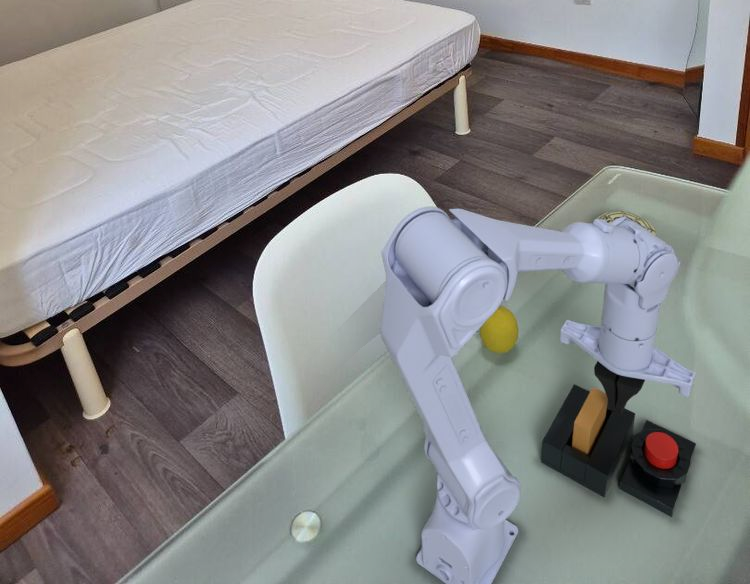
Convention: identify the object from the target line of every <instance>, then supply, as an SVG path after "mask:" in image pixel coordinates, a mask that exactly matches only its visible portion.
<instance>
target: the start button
mask: <svg viewBox="0 0 750 584" xmlns="http://www.w3.org/2000/svg"><path fill="white" fill-rule="evenodd" d="M644 453H645V456H646V458H647V460H648V461H649V462H650V463H651V464H652V465H654V466H655V467H657V468H661V469H669V468H672V467H673V466H674V465H675V464H676V461H677V456H678V446H677V444H676V442H675V441H674V439H672V438H671V437H670V436H669V435H667V434H665V433H661V432H653V433H651V434H649V435H648V436H647V438H646V442H645V448H644Z"/></svg>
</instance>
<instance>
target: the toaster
mask: <svg viewBox="0 0 750 584" xmlns="http://www.w3.org/2000/svg"><path fill="white" fill-rule="evenodd" d="M590 391H591V390H590ZM590 391H589V390H588V389H585V388H583V387H582V386H579V385H577V384H575V383H573V385H572V387H571V388H570V390H569V392H568V394H567V396H566V397H565V399H564V401H563V403H562V404H561V407H560V409H559V410H558V412H557V414H556V415H555V418H554V419H553V421H552V423H551V425H550V426H549V428H548V430H547V432H546V433H545V435H544V437H543V439H542V440H541V453H540V454H541V455H540V463H541V464H543V465H545V466H547V467H548V468H550V469H552V470H554V471H555V472H558V473H559V474H560V475H562V476H564V477H567V478H568V479H570V480H572V481H574V482H575V483H577V484H579V485H581V486H582V487H584V488H586V489H588V490H589V491H592V492H593V493H595V494H597V495H599V496H601V497H602V498H606V496H607V494H608V491H609V489H610V486H611V485H612V482H613V480H614V478H615V475H616V473H617V470H618V469H619V466H620V464H621V461H622V459H623V457H624V454H625V452H626V451H627V448H628V446H629V443H630V441H631V438H632V436H633V432H634V427H635V426H634V425H635V420H636V419H635V418H636V413H635V412H634V411H632V410H630V409H627V408H626V407H625V408H624V410H623V412H622V415H620V414H617V413H615V412H613V411H611V410H610V408H609V403H608V401H607V410H606V418H605V426H604V429H603V431H602V433H601V436H600V438H599V440H598V442H597V444H596V446H595V448H594V450H593V452H592V454H591V456H590V457H589V456H587V455H585V454H584V453H582V452H580V451H578V450H576V449H574V448H572V440H573V430H574V422H575V420H576V418H577V416H578V414H579V412H580V410H581V408H582V406H583V405H584V403H585V401H586V399H587V397H588V395H589V393H590Z"/></svg>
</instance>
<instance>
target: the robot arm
mask: <svg viewBox="0 0 750 584" xmlns="http://www.w3.org/2000/svg"><path fill="white" fill-rule="evenodd" d="M448 211H449V212H450V213H451V214H452V216H453V219H452V218H450V216H449V215H448V214H447V213H446V212H445V210H443V209H441V208H439V207H437V206H423V207H420V208H417V209H415V210H413V211H411V212H410V213H408V214H407V215H405V217H404V218H403V219H401V221H400V222H399V223H398V224H397V226H396V227H395V229H394V230H393V232H392V233H391V235H390V237H389V239H388V240H387V242H386V243H385V246H383V249H382V251H381V258H382V263H383V267H384V272H385V288H384V296H383V304H382V313H381V319H380V320H381V322H380V330H379V331H380V332H379V333H380V336H381V340H382V342H383V345H384V346H385V349H386V350H387V353H388V354H389V356H390V358H391V361H392V363H393V364H394V367H395V369H396V371H397V373H398V375H399V377H400V379H401V381H402V382H403V384H404V387H405V389H406V391H407V393H408V394H409V397H410V399H411V400H412V401H411V402H412V403H413V405H414V407H415V409H416V411H417V413H418V415H419V417H420V420H421V422H422V423H423V426H422V430H423V432H424V436H425V440H424V446H423V452H424V455H425V456H426V458H427V460H429V461H430V462H431V463H432V465H433V466H434V468H435V474H436V476H437V478H436V489H437V490H436V499H435V503H434V507H433V509H432V512H431V514H430V516H429V517H428V520H427V521H426V523H425V524H424V526H423V528H422V531H421V535H420V536H421V548H420V550H419V551H418V553H417V554H416V557H415V560H416V563H417V564H418V565H419V566H421V567H422V568H423V569H425V570H426V571H428V572H429V573H431V574H432V575H433V576H434V577H436V578H437V579H439V580H440V581H441V582H443V583H444V584H493V582H494V580H495V578H496V576H497V574H498V572H499V570H500V568H501V567H502V565H503V563H504V561H505V559H506V557H507V556H508V553H509V551H510V549H511V548H512V546H513V544H514V542H515V540H516V538H517V536H518V534H519V527H518V526H517V525H515V524H514V523H512V522H511V521H509V520H507V519H508V518H509V517H510V516H511V515H512V513H513V512H514V510H515V509H516V508H517V507H518V504H519V502H520V498H521V494H522V484H521V482H520V481H519V479H518V478H517V477H516V476H514V475H513V474H512V472H510V470H509V469H508V467H507V466H506V465H505V464H504V462H503V460H502V459H501V458H500V456H499V455H498V454H497V452H496V451H495V450H494V449H493V447H492V446H491V444H489V442H488V441H487V439H486V437H485V433H484V432H483V430H482V428H481V425H480V422H479V420H478V418H477V415H476V413H475V411H474V408H473V405H472V403H471V400H470V398H469V396H468V393H467V392H466V389H465V386H464V384H463V382H462V379H461V376H460V375H459V372H458V369H457V367H456V365H455V362H454V360H453V358H454V357H456V356H457V354H458V353H459V352H460V351H461V350H462V349H463V348H464V347H465V346H466V344H467V343H468V342H469V341H470V340H471V339H472V338H473V336H474V335H475V334H476V333H477V332H478V331H480V327H481V326H482V325H483V324H484V323H485V322H486V321H487V319H488V318H489V317H490V316H491V315H492V314H493V313H494V312H495V311H496V310H497V309H498V307H499V306H501V304H502V303H503V301H504V302H507V301H509V300H510V298H511V296H512V294H513V292H514V289H515V286H516V283H517V279H518V273H529V272H548V271H561V272H562V273H563V274H564V276H565V277H566V278H568V279H569V280H570V281H572V282H574V283H585V284H604V291H603V300H602V301H603V302H602V310H601V311H602V312H601V319H600V320H601V321H600V326H599V325H598V326H597V325H591V324H586V323H579V322H576V321H573V320H570V319H566V320H565V321H564V323H563V325H562V326H561V328H560V331H559V342H560V343H563V344H565V345H570V343H572V344H575V345H576V346H578V347H579V348H581V349H582V350H583V351H584V352H586V353H587V354H588V355H590V356H591V357H592V358H594V360H595V361H596V363H595V365H594V368H593V370H594V371H593V373H594V376H595V378H597V380H598V381H599V382H600V384H601V385H602V387H603V390H604V393H606V395H607V399H608V403H609V408H610V410H611V411H613V412H615V413H617V414H620V415H622V412H623V410H624V408H625V409H626V405H627V404H628V402H629V400H630V399H632V398H633V397H635V396H636V395H638V393H640V391H641V390H642V388H643V386H644V384H645V382H646V381H651V382H656V383H661V384H667V385H670V386H672V387H675V388H676V389H678V393H679V394H680V395H681V396H684V397H687V398H690V395H691V392H692V391H693V387H694V382H695V378H696V374H697V373H696V372H695V371H693V370H690V369H688V368H686V367H685V366H683V365H681V364H680V363H678V362H677V361H675V359H673V358H672V357H670V356H669V355H667V354H666V353H664V352H663V351H662V350H660V349H659V348H657V347H656V346H655V342H656V335H657V328H658V322H659V315H660V310H661V309H660V308H661V303H663V302H664V301H665V300H666V297H668V295H669V288H670V286H671V284H672V282H673V281H674V279H675V278H676V276H677V274H678V272H679V270H680V267H681V261H679V260H678V257H677V256H676V252H675V249H673V247H672V246H671V245H670V244H668V243H667V242H665V241H664V240H662V239H661V238H659V237H658V235H656V236H655V235H654V234H652V233H651V232H649V231H648V230H646V229H645V228H643V227H642V226H641V225H639V224H638V223H636V222H634V221H632V220H631V219H628V218H627V217H625V216H624V217H620V218H618V219H616V220H614V221H613V222H612V223H610V224H609V223H607V222H606V221H605V220H603V219H596V218H595V219H594V220H593V222H592V223H591V222H583V221H576V222H572V223H570V224H568V225H567V226H565V227H564V228H563V229H562V230H561V231H559V230H555V229H550V228H545V227H544V228H543V227H538V226H533V225H527V224H522V223H515V222H511V221H506V220H501V219H500V220H499V219H495V218H491V217H488V216H485V215H482V214H479V213H475V212H472V211H469V210H466V209H462V208H449V209H448Z"/></svg>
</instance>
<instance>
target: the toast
mask: <svg viewBox="0 0 750 584" xmlns="http://www.w3.org/2000/svg"><path fill="white" fill-rule="evenodd" d="M607 401H608V399H607V395H606V393H605V391H602V390H599V389H597V388H595V387H591V389H590V393H589V395H588V397H587V399H586V401H585V403H584V405H583V406H582V408H581V410H580V412H579V414H578V416H577V418H576V420H575V422H574V430H573V440H572V448H574V449H576V450H578V451H580V452H582V453H584V454H585V455H587V456H589V457H590V456H591V454H592V452H593V450H594V448H595V446H596V444H597V442H598V440H599V438H600V436H601V433H602V431H603V429H604V426H605V418H606V410H607Z"/></svg>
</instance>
